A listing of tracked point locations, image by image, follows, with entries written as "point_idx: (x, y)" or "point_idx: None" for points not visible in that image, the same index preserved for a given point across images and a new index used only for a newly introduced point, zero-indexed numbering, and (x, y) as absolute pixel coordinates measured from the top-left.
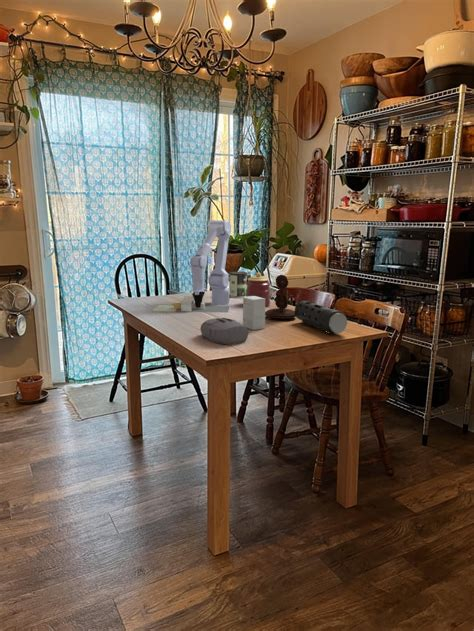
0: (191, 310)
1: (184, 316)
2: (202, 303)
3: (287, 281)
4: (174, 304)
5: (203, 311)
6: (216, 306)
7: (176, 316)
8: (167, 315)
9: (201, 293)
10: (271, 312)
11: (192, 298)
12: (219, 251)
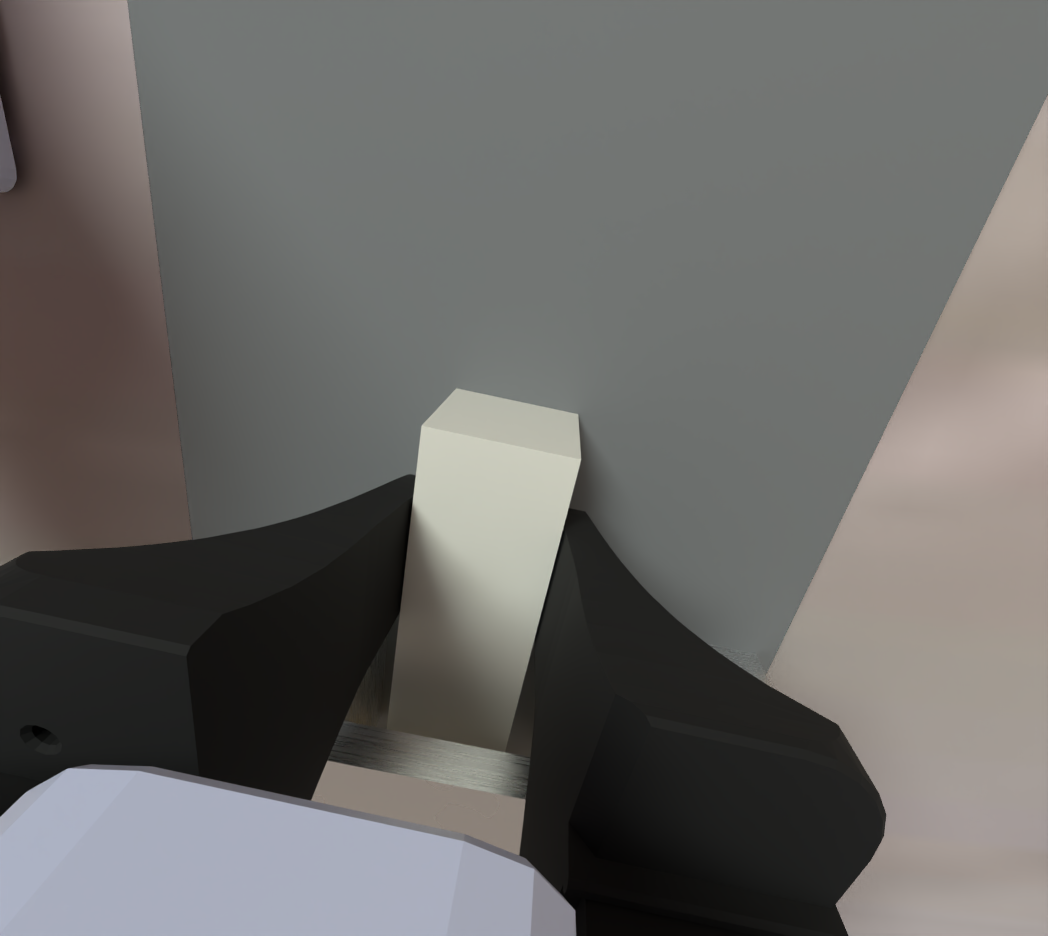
0: (759, 667)
1: (1044, 762)
2: (523, 491)
3: None
4: None
5: (817, 447)
6: (210, 25)
7: (984, 841)
8: (864, 907)
9: (246, 726)
10: None
11: (376, 784)
12: None
